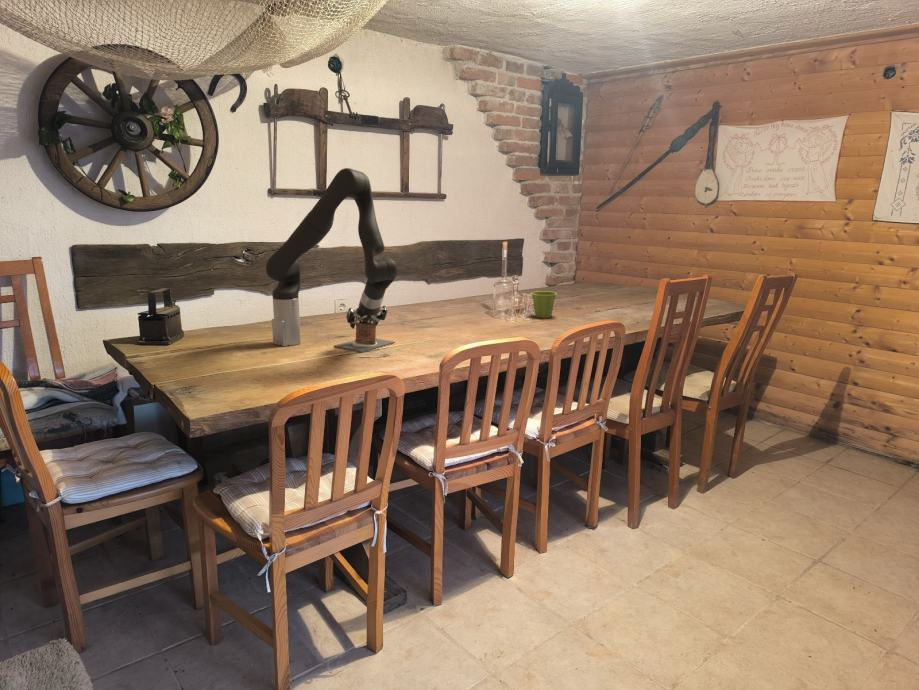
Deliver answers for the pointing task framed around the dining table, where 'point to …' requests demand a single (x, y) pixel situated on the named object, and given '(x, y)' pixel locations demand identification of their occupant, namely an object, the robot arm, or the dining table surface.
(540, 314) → the plant pot
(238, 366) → the dining table surface
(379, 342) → the mat
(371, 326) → the lighter
